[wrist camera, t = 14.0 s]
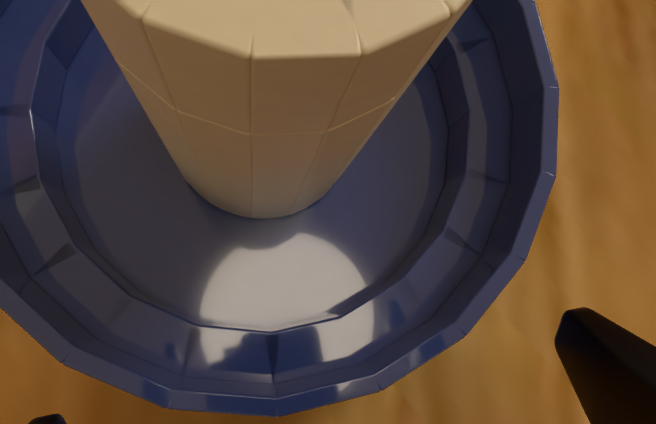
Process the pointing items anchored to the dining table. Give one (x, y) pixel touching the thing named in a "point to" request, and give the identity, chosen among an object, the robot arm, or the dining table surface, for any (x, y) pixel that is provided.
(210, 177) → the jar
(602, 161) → the dining table surface
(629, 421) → the robot arm
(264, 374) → the bowl
